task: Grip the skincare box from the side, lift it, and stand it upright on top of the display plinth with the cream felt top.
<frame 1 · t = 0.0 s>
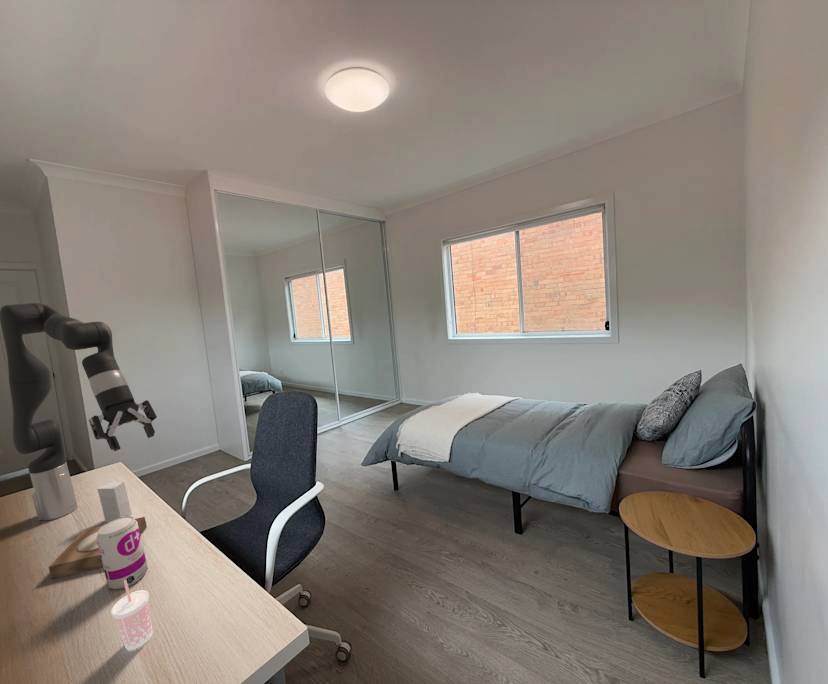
hand: (135, 443, 102), 31 cm above the table, tool tilted 20°, fingers open, 8 cm apart
skincare box: (119, 519, 124), on the table
display plinth: (103, 550, 107), on the table
beverage cup: (139, 641, 77), on the table
supplement can: (129, 578, 95), on the table
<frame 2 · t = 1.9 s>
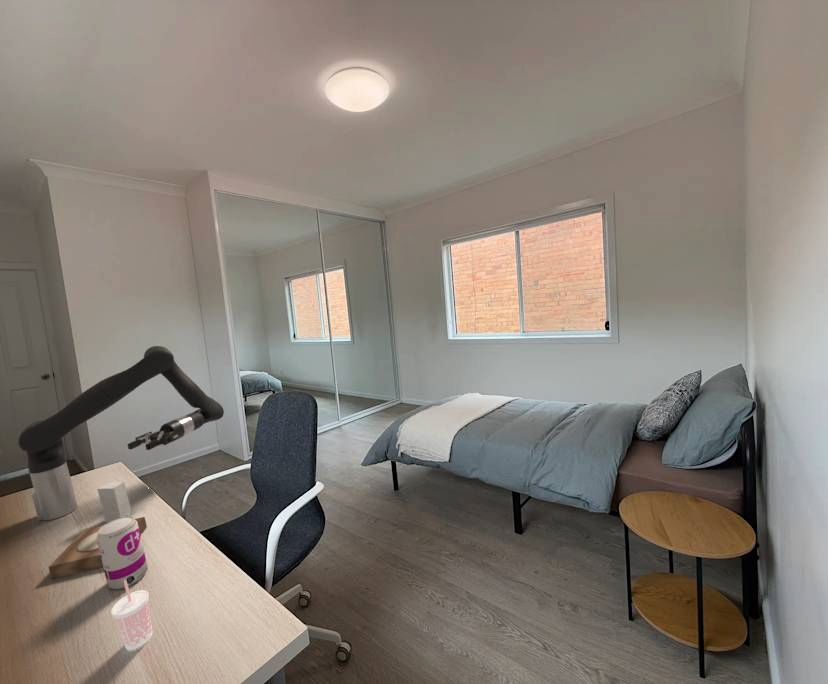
hand: (137, 447, 131), 20 cm above the table, tool horizontal, fingers open, 8 cm apart
nothing on the table moved.
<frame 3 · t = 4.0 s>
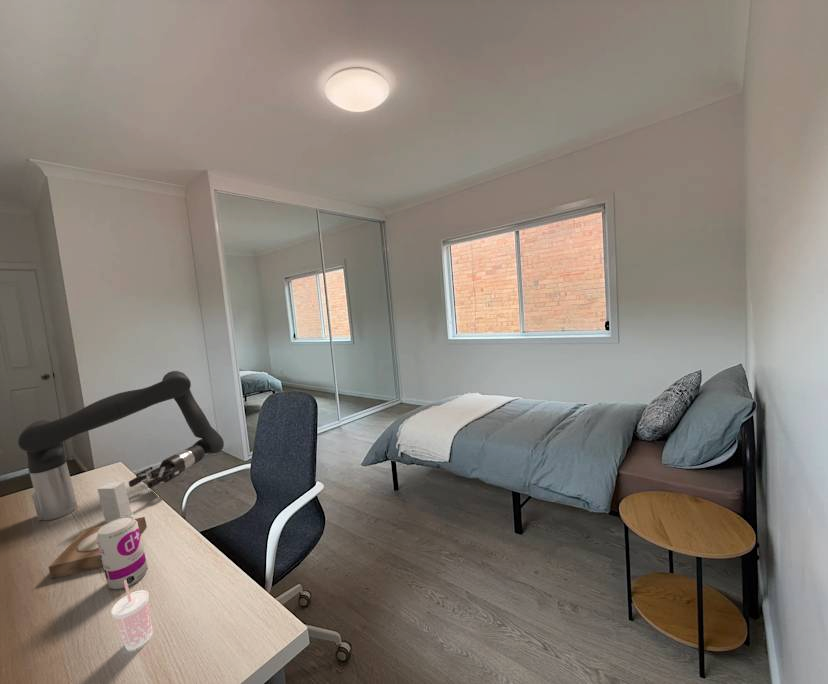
hand: (138, 485, 131), 7 cm above the table, tool horizontal, fingers open, 8 cm apart
nothing on the table moved.
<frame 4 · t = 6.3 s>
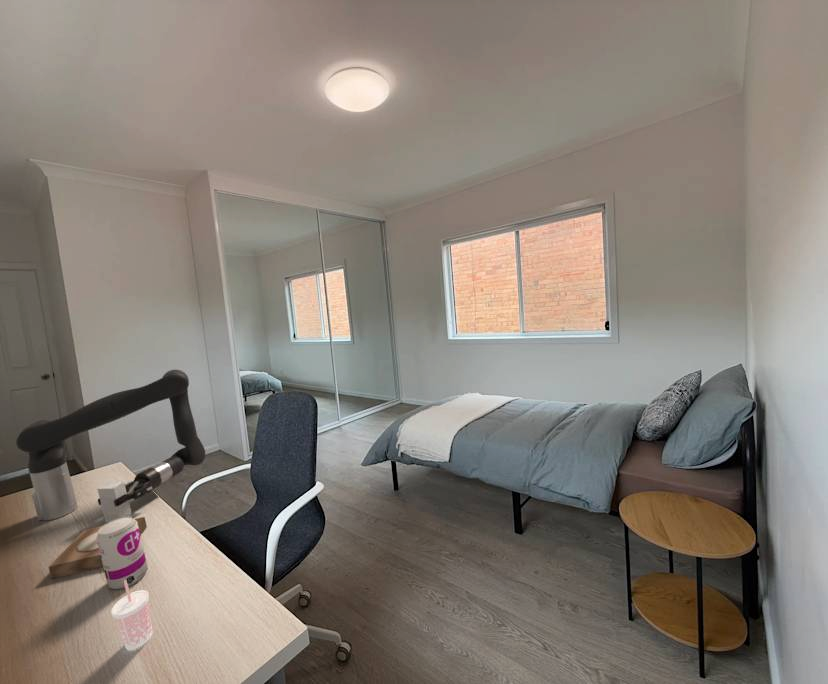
hand: (107, 503, 120), 7 cm above the table, tool horizontal, fingers closed on skincare box, 6 cm apart
skincare box: (119, 519, 123), on the table, touching gripper
everything else where it was.
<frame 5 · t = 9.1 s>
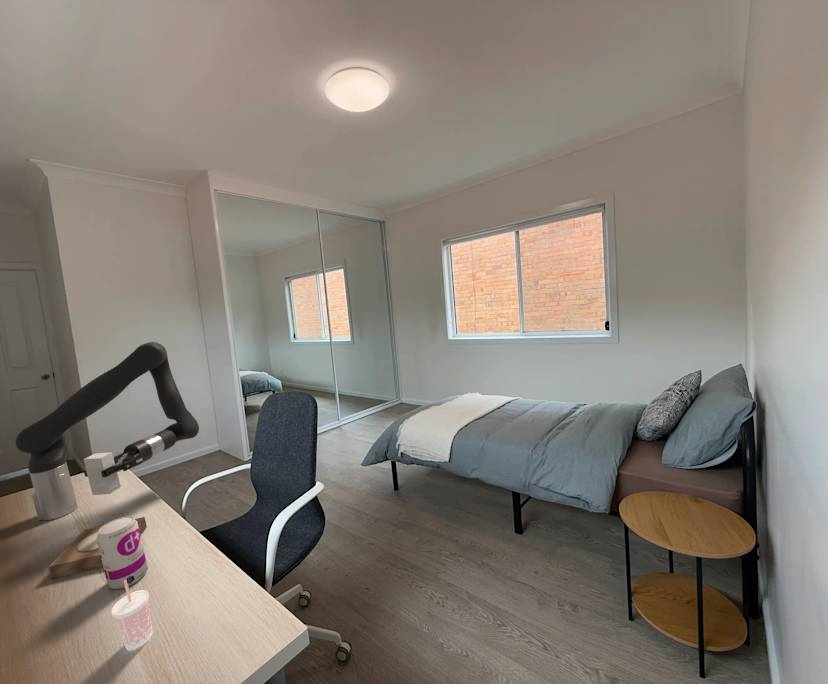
hand: (93, 474, 113), 20 cm above the table, tool horizontal, fingers closed on skincare box, 6 cm apart
skincare box: (107, 491, 116), point 12 cm above the table, touching gripper
everything else where it was.
when the fingers open (12 cm above the table, at t = 12.4 s): skincare box drops 1 cm, resting on display plinth.
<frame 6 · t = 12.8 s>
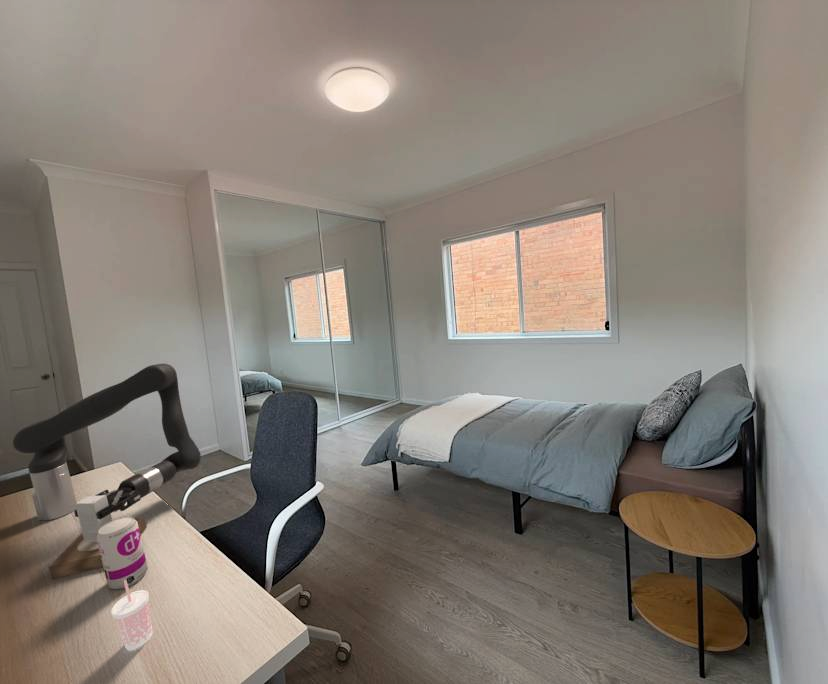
hand: (86, 515, 104), 12 cm above the table, tool horizontal, fingers open, 8 cm apart
skincare box: (100, 538, 107), point 4 cm above the table, touching display plinth
everything else where it was.
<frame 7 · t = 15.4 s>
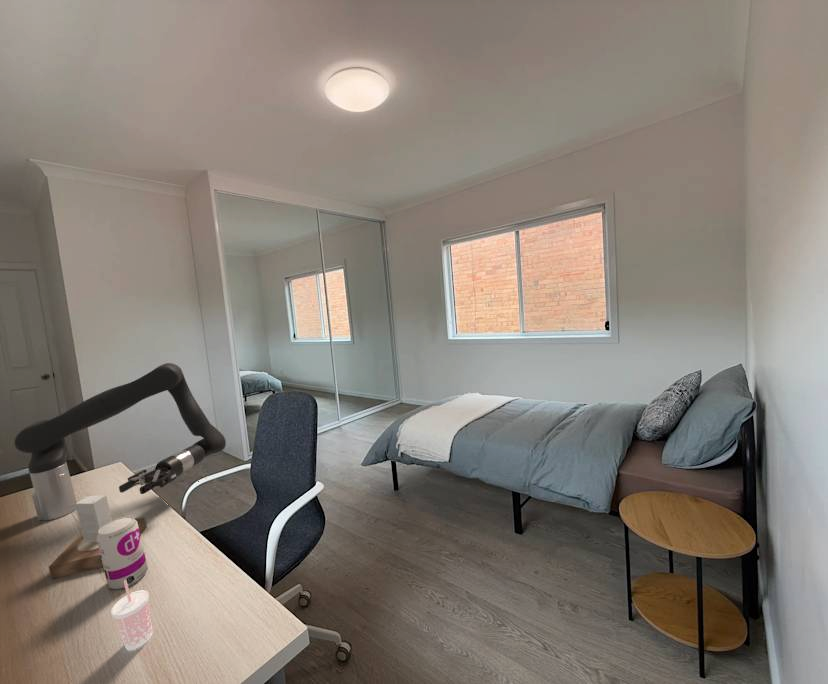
hand: (130, 490, 115), 13 cm above the table, tool horizontal, fingers open, 8 cm apart
nothing on the table moved.
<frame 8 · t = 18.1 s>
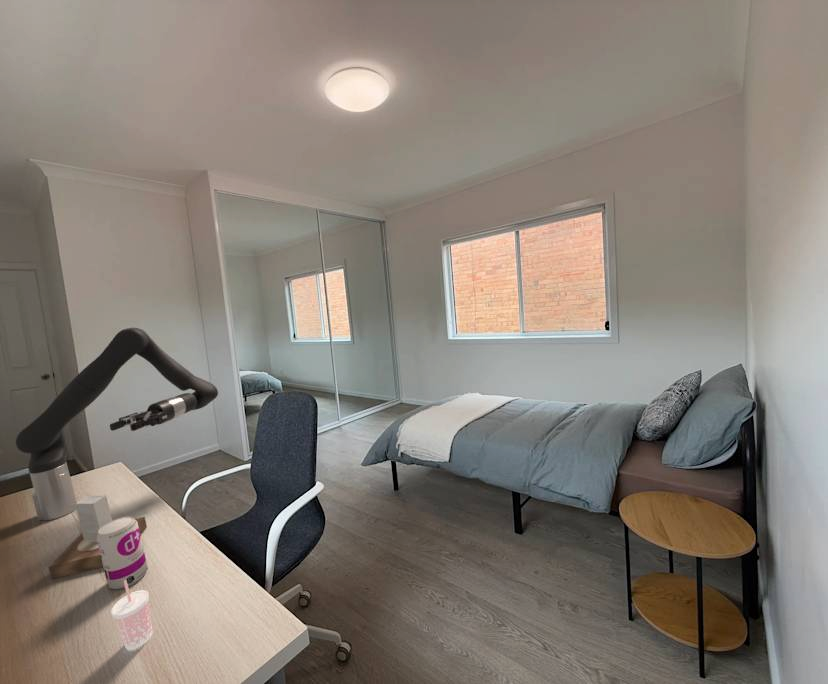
hand: (121, 427, 116), 32 cm above the table, tool horizontal, fingers open, 8 cm apart
nothing on the table moved.
at the end: skincare box inside the target area on the display plinth (0.5 cm from its centre), point 3.8 cm above the display plinth's base; skincare box tilted 0°; the gripper is holding nothing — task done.
